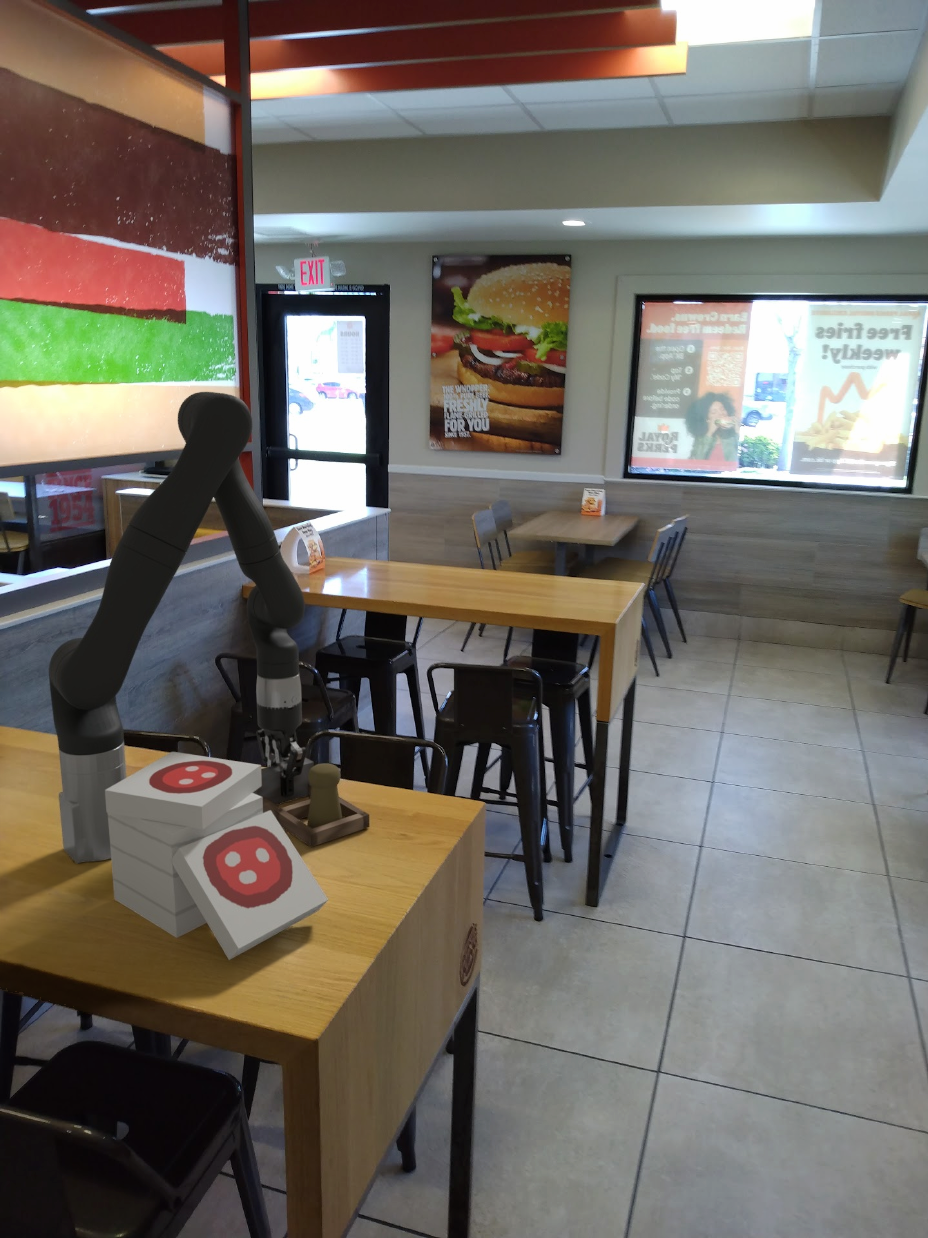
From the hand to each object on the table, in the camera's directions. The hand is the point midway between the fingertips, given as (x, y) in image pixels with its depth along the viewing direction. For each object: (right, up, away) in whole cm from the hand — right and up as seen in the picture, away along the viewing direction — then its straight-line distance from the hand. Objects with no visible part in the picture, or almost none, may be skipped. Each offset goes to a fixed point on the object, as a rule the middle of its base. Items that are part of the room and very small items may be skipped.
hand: (282, 792), depth 162 cm
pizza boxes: (-2, -10, -34) cm, 36 cm away
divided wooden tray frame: (+6, -3, -6) cm, 9 cm away
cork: (+9, -4, -10) cm, 14 cm away
